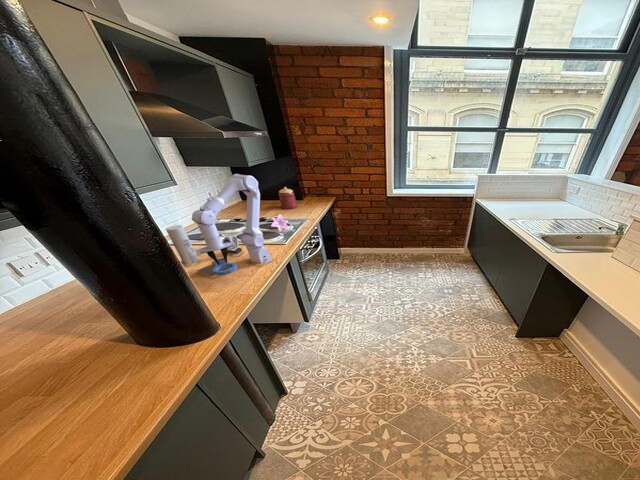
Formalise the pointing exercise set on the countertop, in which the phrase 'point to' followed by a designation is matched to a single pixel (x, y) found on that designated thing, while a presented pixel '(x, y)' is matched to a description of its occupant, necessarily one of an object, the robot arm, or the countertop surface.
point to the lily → (280, 223)
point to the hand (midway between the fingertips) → (222, 264)
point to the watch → (235, 249)
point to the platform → (209, 268)
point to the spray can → (182, 244)
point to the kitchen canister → (287, 198)
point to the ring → (223, 265)
